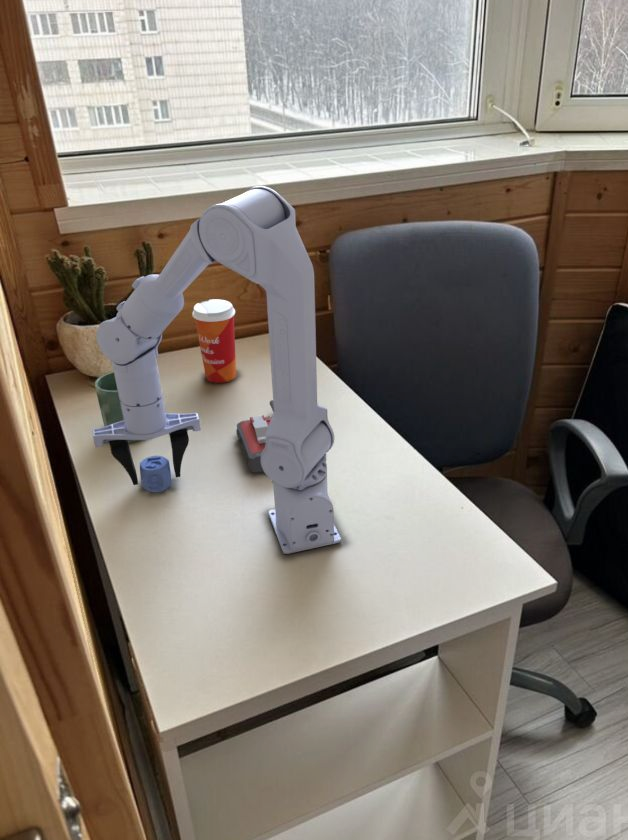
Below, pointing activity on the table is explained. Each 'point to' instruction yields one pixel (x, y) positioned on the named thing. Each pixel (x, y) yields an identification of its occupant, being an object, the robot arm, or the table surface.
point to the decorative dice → (155, 474)
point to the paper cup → (216, 339)
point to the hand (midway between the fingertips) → (156, 477)
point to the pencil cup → (109, 400)
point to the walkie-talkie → (254, 439)
